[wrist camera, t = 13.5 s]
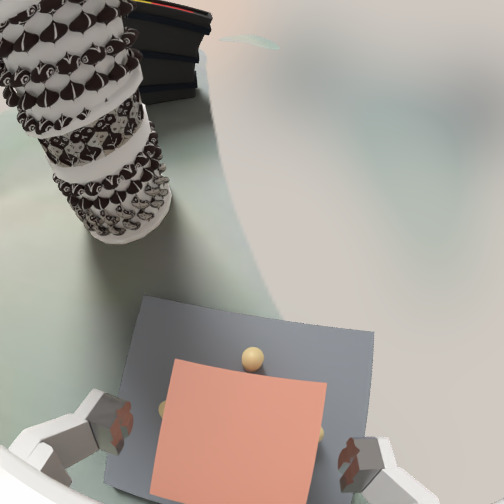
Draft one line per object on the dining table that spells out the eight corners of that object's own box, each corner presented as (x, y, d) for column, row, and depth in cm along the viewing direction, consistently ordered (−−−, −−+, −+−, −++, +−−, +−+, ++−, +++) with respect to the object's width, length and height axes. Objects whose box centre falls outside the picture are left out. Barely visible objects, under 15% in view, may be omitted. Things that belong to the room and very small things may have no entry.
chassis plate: (110, 479, 14) (86, 490, 11) (148, 300, 21) (132, 280, 18) (340, 518, 13) (358, 535, 10) (367, 335, 20) (389, 322, 17)
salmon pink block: (196, 448, 15) (149, 493, 6) (209, 380, 17) (174, 358, 8) (271, 460, 15) (302, 518, 6) (283, 392, 17) (327, 383, 8)
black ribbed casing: (90, 96, 31) (118, -8, 20) (182, 110, 38) (227, 17, 26) (84, 111, 29) (111, -2, 18) (182, 126, 36) (231, 26, 25)
